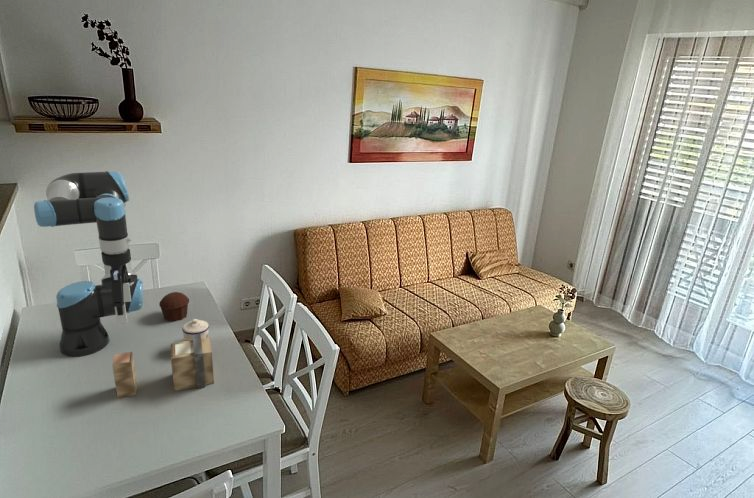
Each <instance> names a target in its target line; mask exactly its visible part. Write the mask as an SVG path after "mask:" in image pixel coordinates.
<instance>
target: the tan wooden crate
mask: <svg viewBox="0 0 754 498" xmlns="http://www.w3.org/2000/svg"><path fill="white" fill-rule="evenodd" d="M212 350H213V349H212V344H211V338H210V337H209V338H205V339H201V336H200V334H198V335H193V340H191V341H184V340H183V341H178V342H172V343H170V362H171V369H172V370H171V372H172V380H173V391H180V390H184V389H190V388H197V389H203V388H206V385H212V384H215V380H214V379H215V378H214V366H213V365H214V364H213V363H214V362H213V351H212Z"/></svg>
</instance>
